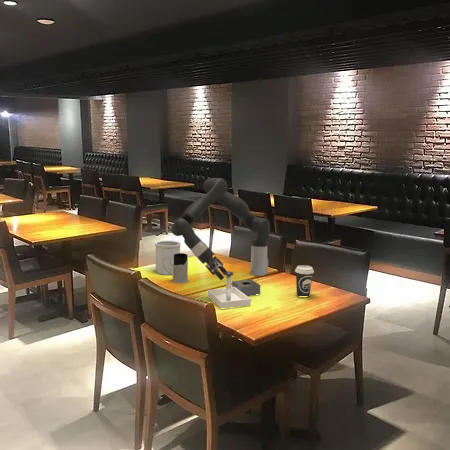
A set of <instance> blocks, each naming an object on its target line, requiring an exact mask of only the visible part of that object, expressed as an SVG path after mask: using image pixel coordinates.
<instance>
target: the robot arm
mask: <svg viewBox="0 0 450 450" xmlns="http://www.w3.org/2000/svg"><path fill="white" fill-rule="evenodd" d="M203 189H204V192H205V193H206V194H205V195H204V194H203V196H201V197H200V198H198V199H196V200H195V201H194V202H192V203H191V204H190V205H189V206H188V207H187V208H186V209H185V210H184V212H183V213H182V215H181V216H180V217H178V218H177V219H176V220H175V221H174V222H173V224H172V225H171V228H170V229H171V230H170V231H171V233H172V234H173V236H175V237H180V236H182V238H183V240H184V241H183V242H184V244H185V246H187V248H188V249H189V250H190V251H191V252H192V253H193V254H194V256H195V257H196V258H197V260H199V262H200V263H202V264H205V263H206V264H205V268H206V269H207V270H208V271H209V272H210V273H211V275H213V276H216V277H217V278H218V279H219V280H220V281H222V280H223V279H224V278H225V276H226V275H225V272H227V271H228V270H227V269H226V268H225V267H224V263H223V262H222V261H221V260H220V259H219V258H218V257H217V256H214V255H215V253H214V252H213V250H211V249H210V247H209V246H208V245H207V244H206V243H205V242H204V241H203V240H201V238H200V237H199V236H198V235H197V233H196V232H195V231H194V229H193V227H192V226H191V225H192V224H193V223H194V222H195V221H197V219H198V218H199V217H200V216H201V215H202V214H203V212H205V210H207V209H209V207H210V206H211V205H213V204H214V203H215V202H218V203H220V204H221V205H222V206H223V207H224V208H225V209H227V210H228V211H229V212H230V213H231V214H232V215H233V216H235V217H236V218H237V219H239V221H241V222H242V223H243V224H244V225H245V226H246V227H247V228H248V230H250V232H252V233H254V234H257V238H253V239H252V240H251V248H250V249H251V251H250V252H251V253H250V255H251V256H250V275H253V276H257V277H261V276H266V275H268V274H269V258H268V244H269V240H270V233H271V231H270V230H271V223H270V220H269V219H267V218H262V217H258V216H256V215H255V214H253V212H252V213H251V211H250V208H249V206H248V204H247V203H246V202H245V201H244V200H243V199H242V198H240V197H239V196H237V195H235V194H234V193H232V192H229V191H227V190H228V182H227V181H226V180H225V179H224V178H221V177H212V178H211V177H210V178H207V179H206V180H205V181H204V182H203Z"/></svg>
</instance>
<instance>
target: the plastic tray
mask: <svg viewBox="0 0 450 450" xmlns="http://www.w3.org/2000/svg"><path fill="white" fill-rule="evenodd" d="M207 298H208V299H210V300H211V301H212V302H213V303H214V304H215V303H216V304H217V305H218V306H219V307H218V306H217V305H216V304H215V305H216V306H217V307H218V308H219V309H221V308H230V307H238V306H245V307H248V306H247V305H251V302H252V299H251V298H250V296H246V295H245V294H244V293H242V292H241V291H240V290H238V289H237V288H236V287H232V286H231V300H230V301H227V300H226V287H223V288H216V289H215V288H213V289H207ZM238 308H239V307H238ZM230 309H231V308H230Z"/></svg>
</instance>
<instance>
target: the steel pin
mask: <svg viewBox="0 0 450 450" xmlns="http://www.w3.org/2000/svg"><path fill="white" fill-rule="evenodd" d="M226 271H227V272H225V275H224V276H226V280H225V281H226V282H225V284H226V286H225V288H226V300H227V301H230V300H231V287H232V276H233V275H234V272H233V271H230V270H226Z"/></svg>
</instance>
